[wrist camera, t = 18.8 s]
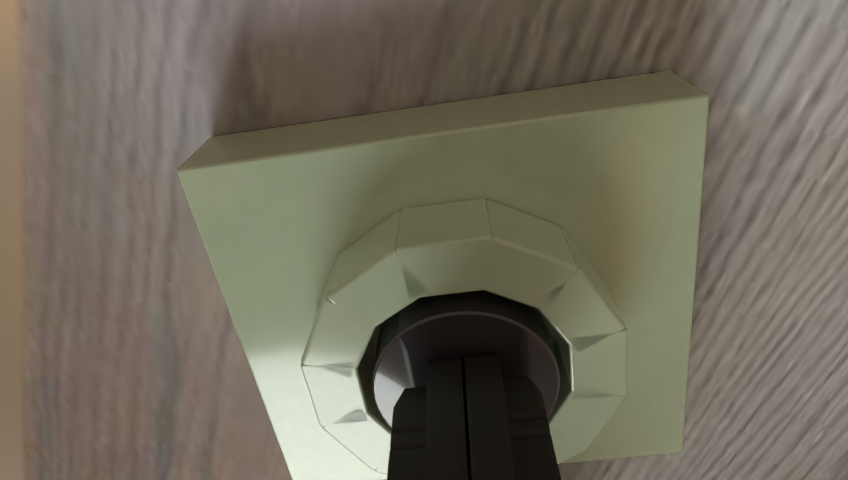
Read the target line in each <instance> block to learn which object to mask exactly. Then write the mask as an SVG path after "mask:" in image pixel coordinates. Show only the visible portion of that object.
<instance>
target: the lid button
mask: <svg viewBox="0 0 848 480" xmlns="http://www.w3.org/2000/svg"><path fill="white" fill-rule="evenodd" d="M493 353H498V354H499V360H500V367H501V374H502V378H507V377H517V376H528V377H529V378H530V379H531V380H532V382H533V383H534V384H535V385H536V386H537V388H538V389H539V390H540V391H541V392H542V397H543V401H544V406H545V410H546V416H547V418H548V416H549V415H550V413H551V412H552V410H553V408H554V406H555V403H556V401H557V398H558V394H559V389H560V373H559V367H558V363H557V360H556V356H555V353H554V349H553V345H552V342H551V338H550V334H549V331H548V327H547V323H546V320H545V317H544V316H543V315H542V314H541V312H540V311H539V310H538V309H537V308H535V307H532V306H529V305H526V304H523V303H520V302H517V301H514V300H511V299H508V298H505V297H503V296H500V295H497V294H494V293H491V292H488V291H485V290H480V291H471V292H463V293H454V294H446V295H437V296H429V297H420V298H419V299H417V300H415V301H414V302H412V303H411V304H409V305H408V306H406V307H405V308H403V309H402V310H400V311H399V312H397V313H396V314H394V315H393V316H391V317H390V318H388V319H387V320H385V321H384V322H382V323H381V324H380V325H379V331H378V338H377V345H376V353H375V360H374V367H373V374H372V392H373V397H374V400H375V403H376V406H377V408H378V410H379V412H380V414H381V416H382V417H383V418H384V420H385V421H386V422H387V424H388V425H389V426H390V427H391V428H392V418H393V407H394V406H395V404H396V402H397V401H398V399H399V397H400V396H401V394H402V392H403V391H404V389H405V388H412V387H422V386H426V384H427V361H429V360H439V359H448V358H457V357H462V361H463V367H464V373H465V363H464V357H465V356H475V355H484V354H493ZM465 380H466V379H465Z"/></svg>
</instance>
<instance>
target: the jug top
mask: <svg viewBox="0 0 848 480" xmlns="http://www.w3.org/2000/svg"><path fill="white" fill-rule="evenodd" d="M708 109H709V95H708V94H707V93H705V92H704V91H702V90H701V89H699V88H697V87H696V86H694V85H693V84H691V83H690V82H688V81H686V80H685V79H683V78H682V77H680V76H679V75H677V74H676V73H674V72H672V71H670V70H669V71H662V72H656V73H649V74H642V75H635V76H628V77H621V78H614V79H607V80H600V81H594V82H587V83H580V84H573V85H566V86H559V87H552V88H545V89H539V90H532V91H525V92H518V93H511V94H504V95H497V96H490V97H483V98H477V99H470V100H463V101H456V102H449V103H442V104H435V105H428V106H421V107H415V108H408V109H401V110H394V111H387V112H380V113H373V114H366V115H360V116H353V117H346V118H339V119H332V120H325V121H318V122H311V123H304V124H298V125H291V126H284V127H277V128H270V129H263V130H256V131H249V132H243V133H236V134H229V135H222V136H215V137H211V138H209V139H208V140H207V141H206V142H205V143H204V144H203V145H202V146H201V147H200V148H199V149H198V150H197V151H196V152H195V153H194V154H193V155H192V156H191V157H190V158H189V159H188V160H187V161H185V162H184V163H183V164H182V165H181V166H180V167H179V168H178V169H177V174H178V177H179V179H180V182H181V185H182V187H183V190H184V193H185V195H186V198H187V201H188V203H189V206H190V209H191V211H192V214H193V217H194V219H195V222H196V225H197V227H198V230H199V233H200V235H201V238H202V241H203V243H204V246H205V249H206V251H207V254H208V257H209V259H210V262H211V265H212V267H213V270H214V273H215V275H216V278H217V281H218V284H219V286H220V289H221V292H222V294H223V297H224V300H225V302H226V305H227V308H228V310H229V313H230V316H231V318H232V321H233V324H234V326H235V329H236V332H237V334H238V337H239V340H240V342H241V345H242V348H243V350H244V353H245V356H246V358H247V361H248V364H249V366H250V369H251V372H252V374H253V377H254V380H255V382H256V385H257V388H258V390H259V393H260V396H261V398H262V401H263V404H264V406H265V409H266V412H267V414H268V417H269V420H270V422H271V425H272V428H273V431H274V433H275V436H276V439H277V441H278V444H279V447H280V449H281V452H282V455H283V457H284V460H285V463H286V465H287V468H288V471H289V473H290V476H291V479H292V480H387V475H388V463H389V452H390V440H391V433H392V428H391V427H390V426H389V425H388V424H387V422H386V421H385V420H384V418H383V417H382V416H381V414H380V412H379V410H378V408H377V406H376V403H375V400H374V397H373V392H372V374H373V367H374V360H375V353H376V345H377V338H378V331H379V325H380V324H381V323H382V322H384V321H385V320H387V319H388V318H390V317H391V316H393V315H394V314H396V313H397V312H399V311H400V310H402V309H403V308H405V307H406V306H408V305H409V304H411V303H412V302H414V301H415V300H417V299H419V298H420V297H429V296H437V295H446V294H454V293H463V292H471V291H480V290H485V291H488V292H491V293H494V294H497V295H500V296H503V297H505V298H508V299H511V300H514V301H517V302H520V303H523V304H526V305H529V306H532V307H535V308H537V309H538V310H539V311H540V312H541V314H542V315H543V316H544V317H545V320H546V323H547V327H548V331H549V334H550V338H551V342H552V345H553V349H554V353H555V356H556V360H557V363H558V367H559V373H560V389H559V394H558V398H557V401H556V403H555V406H554V408H553V410H552V412H551V413H550V415H549V416H548V418H547V419H548V424H549V428H550V434H551V437H552V442H553V446H554V451H555V455H556V460H557V464H563V463H574V462H585V461H596V460H607V459H618V458H629V457H640V456H651V455H662V454H673V453H681V452H682V447H683V434H684V421H685V408H686V395H687V382H688V369H689V356H690V343H691V330H692V317H693V304H694V291H695V278H696V265H697V252H698V239H699V226H700V213H701V200H702V187H703V174H704V161H705V148H706V135H707V122H708Z"/></svg>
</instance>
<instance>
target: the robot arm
mask: <svg viewBox="0 0 848 480" xmlns="http://www.w3.org/2000/svg"><path fill="white" fill-rule="evenodd" d="M464 363H465V373H464V367H463V361H462V357H457V358H448V359H439V360H429V361H427V384H426V386H422V387H412V388H405V389H404V391H403V392H402V394H401V396H400V397H399V399H398V401H397V402H396V404H395V406H394V407H393V418H392V433H391V440H390V452H389V463H388V475H387V480H561V478H560V473H559V469H558V464H557V460H556V455H555V451H554V446H553V442H552V437H551V434H550V428H549V424H548V419H547V416H546V410H545V406H544V401H543V397H542V392H541V391H540V390H539V389H538V388H537V386H536V385H535V384H534V383H533V382H532V380H531V379H530V378H529V377H528V376H517V377H507V378H502V374H501V367H500V360H499V354H498V353H493V354H484V355H475V356H465V357H464ZM465 379H466V380H465Z"/></svg>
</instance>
